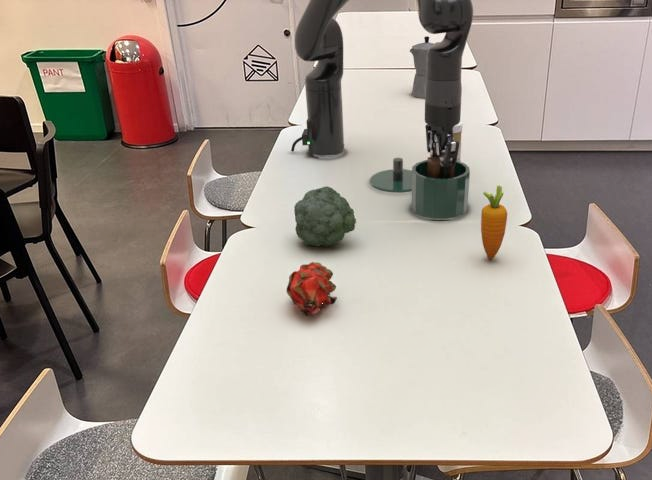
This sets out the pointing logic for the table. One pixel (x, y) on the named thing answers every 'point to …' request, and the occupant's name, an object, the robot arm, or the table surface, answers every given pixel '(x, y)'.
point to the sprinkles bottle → (457, 138)
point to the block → (436, 168)
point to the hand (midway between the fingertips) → (440, 178)
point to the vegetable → (323, 217)
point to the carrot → (493, 223)
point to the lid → (393, 178)
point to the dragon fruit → (311, 287)
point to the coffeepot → (420, 66)
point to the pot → (440, 192)
